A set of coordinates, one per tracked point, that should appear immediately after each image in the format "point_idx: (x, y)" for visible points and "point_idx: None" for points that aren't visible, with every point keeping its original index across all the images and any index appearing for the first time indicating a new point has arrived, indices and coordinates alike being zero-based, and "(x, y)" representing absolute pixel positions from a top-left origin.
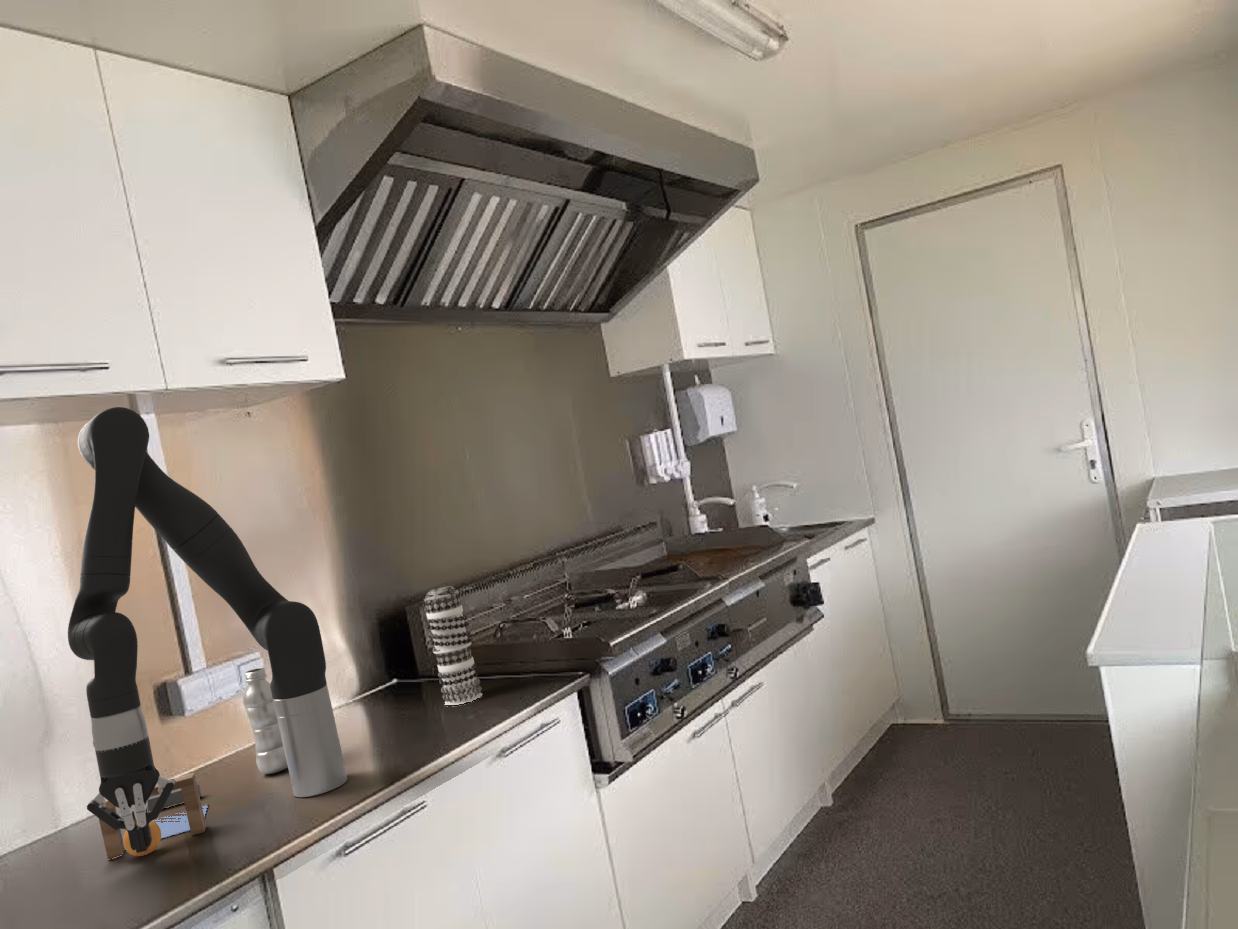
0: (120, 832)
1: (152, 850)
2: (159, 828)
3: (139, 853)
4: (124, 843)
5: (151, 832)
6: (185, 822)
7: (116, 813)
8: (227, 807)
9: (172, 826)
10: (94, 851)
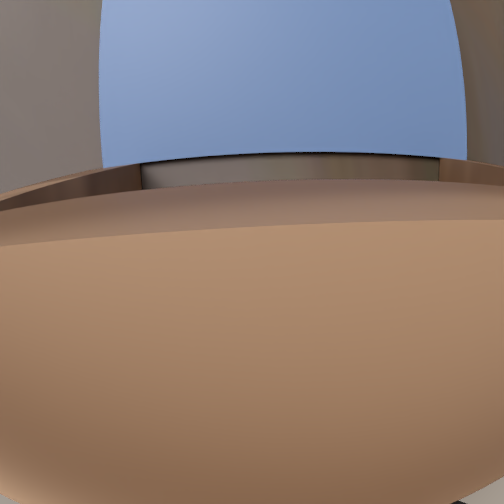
0: (101, 187)
1: None
2: None
3: None
4: None
5: None
6: (390, 13)
7: (20, 206)
8: (497, 4)
9: (335, 6)
10: (13, 66)
